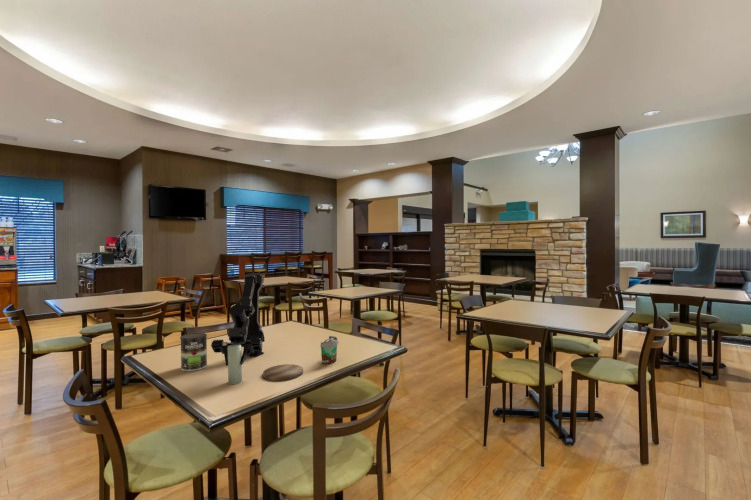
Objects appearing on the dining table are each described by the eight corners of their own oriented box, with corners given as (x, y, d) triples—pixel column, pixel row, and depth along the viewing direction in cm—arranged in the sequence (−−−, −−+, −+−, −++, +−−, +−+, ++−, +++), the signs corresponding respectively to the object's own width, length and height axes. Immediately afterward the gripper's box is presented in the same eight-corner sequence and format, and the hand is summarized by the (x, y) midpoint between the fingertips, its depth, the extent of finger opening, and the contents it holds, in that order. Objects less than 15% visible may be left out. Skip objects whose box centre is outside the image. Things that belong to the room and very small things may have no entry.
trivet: (254, 377, 145) (254, 374, 145) (282, 365, 159) (281, 362, 159) (284, 383, 137) (284, 380, 137) (311, 370, 152) (310, 367, 152)
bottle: (225, 383, 139) (224, 347, 139) (235, 378, 143) (235, 343, 143) (234, 385, 137) (233, 348, 136) (244, 380, 141) (244, 345, 141)
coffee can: (207, 368, 155) (207, 336, 155) (180, 373, 151) (180, 339, 150) (206, 362, 164) (206, 331, 164) (181, 366, 160) (180, 334, 160)
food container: (334, 365, 157) (333, 343, 157) (320, 365, 158) (320, 342, 158) (342, 357, 169) (342, 336, 169) (329, 356, 170) (329, 335, 170)
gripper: (212, 319, 142) (202, 356, 132) (260, 317, 145) (255, 353, 134) (218, 334, 150) (210, 370, 140) (264, 332, 153) (260, 367, 142)
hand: (233, 364), depth 139 cm, fingers closed on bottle, 5 cm apart
